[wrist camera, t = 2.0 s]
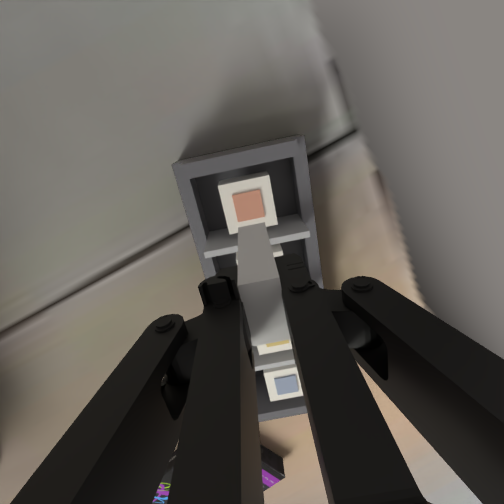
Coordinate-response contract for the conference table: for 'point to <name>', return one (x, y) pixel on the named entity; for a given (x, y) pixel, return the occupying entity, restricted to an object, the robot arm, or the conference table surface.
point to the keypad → (286, 232)
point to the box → (270, 474)
